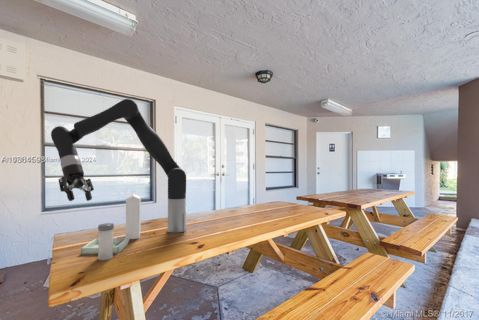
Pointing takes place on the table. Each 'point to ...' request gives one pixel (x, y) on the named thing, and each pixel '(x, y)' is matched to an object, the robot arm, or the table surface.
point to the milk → (133, 216)
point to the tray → (94, 245)
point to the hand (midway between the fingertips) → (81, 200)
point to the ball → (118, 240)
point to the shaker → (105, 241)
